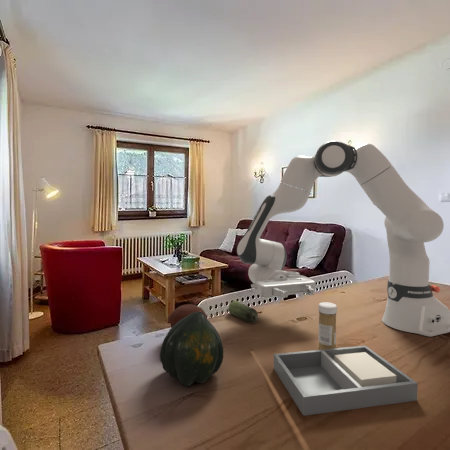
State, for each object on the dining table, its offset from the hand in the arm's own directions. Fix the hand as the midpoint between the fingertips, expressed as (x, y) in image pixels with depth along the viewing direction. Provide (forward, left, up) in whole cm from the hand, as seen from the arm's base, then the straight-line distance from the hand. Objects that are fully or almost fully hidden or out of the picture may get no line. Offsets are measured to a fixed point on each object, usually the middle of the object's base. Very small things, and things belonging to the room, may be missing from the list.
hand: (299, 293), depth 89 cm
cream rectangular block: (-3, +26, -12) cm, 29 cm away
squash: (+33, +15, -13) cm, 39 cm away
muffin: (+33, -3, -13) cm, 36 cm away
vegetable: (+13, -16, -13) cm, 25 cm away
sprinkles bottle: (-3, +12, -13) cm, 18 cm away
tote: (+2, +26, -13) cm, 29 cm away
